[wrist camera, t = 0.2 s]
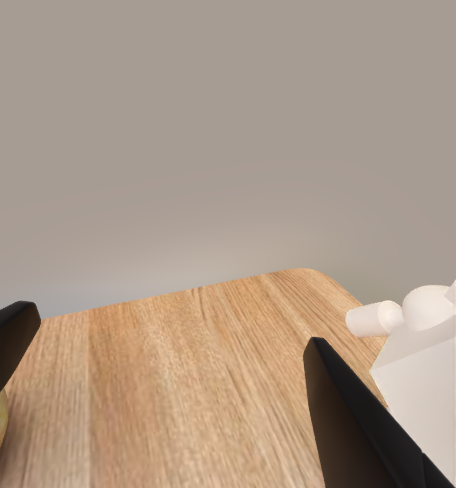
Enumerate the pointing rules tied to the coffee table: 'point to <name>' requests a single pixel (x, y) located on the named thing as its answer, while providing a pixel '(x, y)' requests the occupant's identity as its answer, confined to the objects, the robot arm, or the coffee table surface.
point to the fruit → (3, 414)
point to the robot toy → (417, 366)
